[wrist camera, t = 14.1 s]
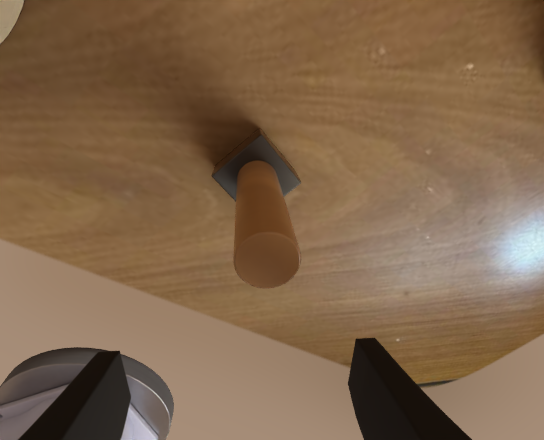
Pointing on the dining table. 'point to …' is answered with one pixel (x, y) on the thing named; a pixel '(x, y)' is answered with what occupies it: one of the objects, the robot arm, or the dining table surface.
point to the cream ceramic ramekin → (9, 16)
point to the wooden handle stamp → (261, 211)
